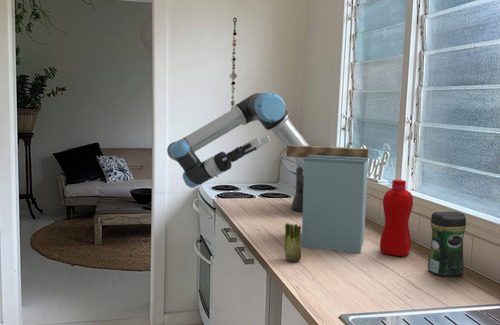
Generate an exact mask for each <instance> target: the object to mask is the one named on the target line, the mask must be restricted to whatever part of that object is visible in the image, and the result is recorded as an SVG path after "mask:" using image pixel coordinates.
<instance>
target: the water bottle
mask: <svg viewBox="0 0 500 325" xmlns="http://www.w3.org/2000/svg"><path fill="white" fill-rule="evenodd" d="M391 180H392V181H391V182H392V184H391V189H389V190H387V191H386V192H385V194H384V195H383V200H382V207H383V208H382V209H383V212H384V225H383V229H382V233H381V235H380V236H381V237H380V241H379V242H380V243H379V249H380V252H381V253H383V254H384V255H389V256H395V257H399V256H401V257H406V256H408V254H409V253H410V252H411V247H412V245H411V244H412V243H411V242H412V238H411V234H410V226H409V220H410V216H411V213H412V210H413V206H414V197H413V195H412V192H410V191H409V190H407V188H406V187H407V186H406V185H407V181H406V180H404V179H391Z"/></svg>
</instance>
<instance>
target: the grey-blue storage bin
mask: <svg viewBox="0 0 500 325" xmlns="http://www.w3.org/2000/svg"><path fill="white" fill-rule="evenodd" d="M368 168H369V159H368V160H367V158H359V157H340V156H321V155H309V158H306V157H305V158H304V187H303V212H302V215H301V216H302V219H301V220H302V223H301V248H310V249H320V250H327V251H337V252H345V253H352V254H353V253H356V254H361V251H362V247H363V244H364V241H365V231H366V230H365V229H366V228H365V227H366V212H367V211H366V207H367V192H368V172H369V169H368Z"/></svg>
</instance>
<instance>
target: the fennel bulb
mask: <svg viewBox="0 0 500 325" xmlns="http://www.w3.org/2000/svg"><path fill="white" fill-rule="evenodd" d="M284 227H285V228H284V229H285V231H284V232H285V234H284V256H285V259H286V260H287V261H288V262H290V263H297V262H299V261H301V259H302V247H301V244H302V242H301V233H302V225H298V224H297V223H294V224H293V223H289V222H286V223H285V225H284Z"/></svg>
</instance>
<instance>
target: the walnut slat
mask: <svg viewBox="0 0 500 325" xmlns="http://www.w3.org/2000/svg"><path fill="white" fill-rule="evenodd" d="M309 155H321V156H340V157H359V158H367V160H368V161H369V148H361V147H360V148H359V147H358V148H357V147H356V148H355V147H341V146H337V147H336V146H319V145H317V146H315V145H309V146H300V145H288V146H287V149H286V157H287V158H293V157H303V158H305V157H306V158H309Z"/></svg>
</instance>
